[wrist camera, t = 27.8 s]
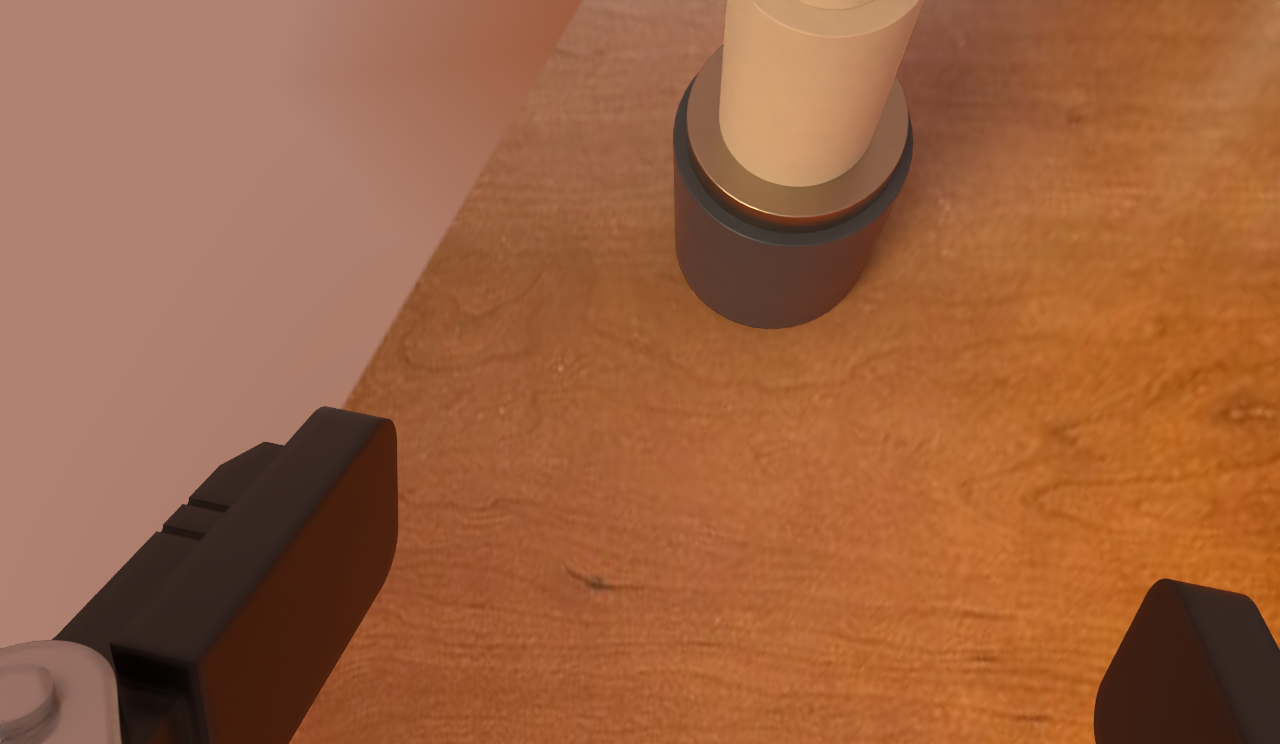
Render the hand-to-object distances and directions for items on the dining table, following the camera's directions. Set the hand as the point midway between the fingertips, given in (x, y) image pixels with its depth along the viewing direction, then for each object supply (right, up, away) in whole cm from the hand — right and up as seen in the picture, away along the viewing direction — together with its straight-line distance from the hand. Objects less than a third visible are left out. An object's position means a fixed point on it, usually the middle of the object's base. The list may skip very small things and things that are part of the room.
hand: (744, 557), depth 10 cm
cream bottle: (+5, +11, +25) cm, 28 cm away
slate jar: (+5, +8, +36) cm, 37 cm away
